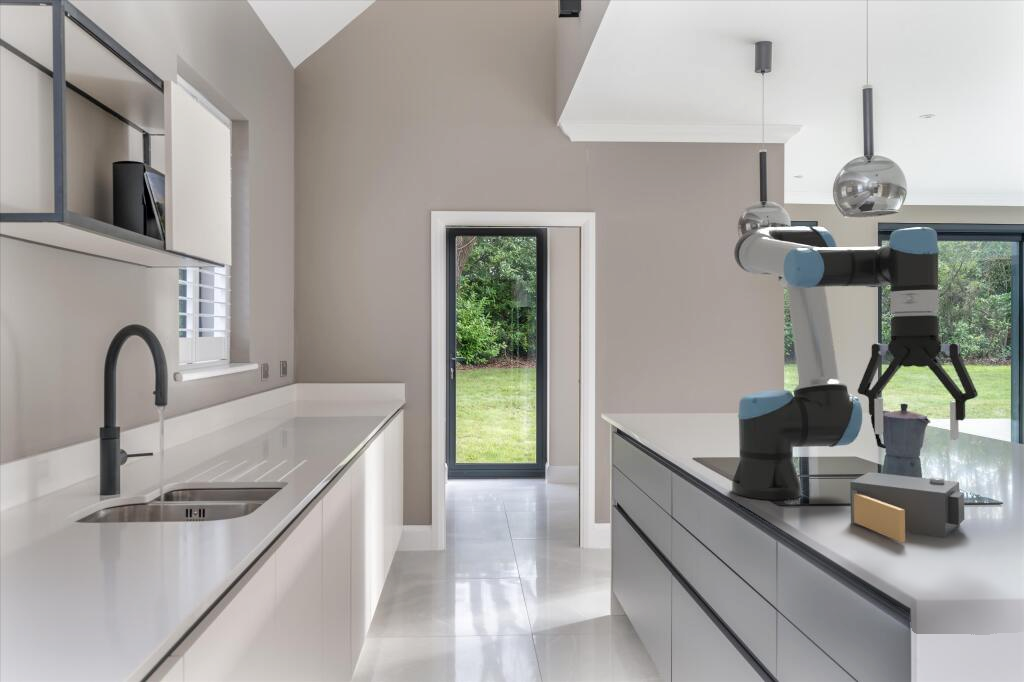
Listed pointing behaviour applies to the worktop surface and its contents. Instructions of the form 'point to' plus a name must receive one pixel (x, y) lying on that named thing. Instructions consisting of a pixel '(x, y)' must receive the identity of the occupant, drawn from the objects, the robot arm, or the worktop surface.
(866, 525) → the side door
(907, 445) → the moka pot
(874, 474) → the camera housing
